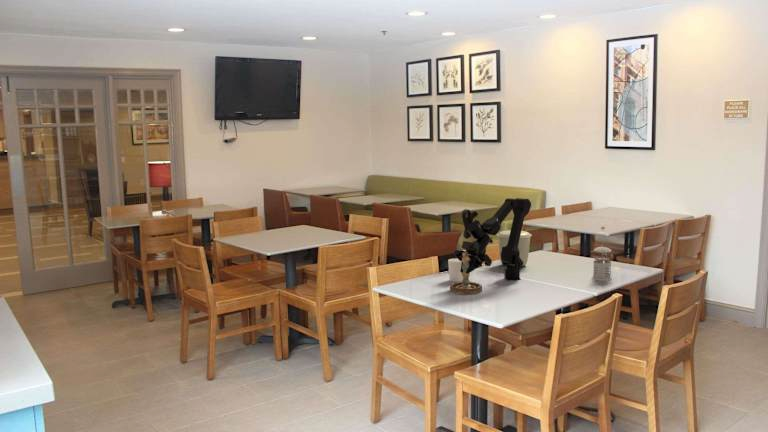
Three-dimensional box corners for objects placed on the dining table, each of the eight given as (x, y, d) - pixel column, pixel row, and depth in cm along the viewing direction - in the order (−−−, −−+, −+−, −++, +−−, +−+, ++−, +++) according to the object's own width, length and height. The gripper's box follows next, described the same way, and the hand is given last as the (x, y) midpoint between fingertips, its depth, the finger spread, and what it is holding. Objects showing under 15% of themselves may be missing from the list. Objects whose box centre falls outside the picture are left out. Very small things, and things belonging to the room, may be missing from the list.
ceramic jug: (466, 260, 368) (466, 206, 364) (491, 263, 358) (491, 208, 354) (449, 265, 355) (448, 209, 351) (474, 269, 345) (474, 211, 341)
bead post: (471, 285, 301) (471, 254, 299) (469, 288, 298) (469, 256, 296) (462, 285, 303) (462, 254, 301) (460, 287, 299) (460, 256, 297)
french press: (589, 279, 316) (590, 227, 312) (593, 274, 326) (594, 224, 323) (610, 281, 311) (612, 228, 308) (615, 276, 321) (616, 225, 318)
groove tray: (478, 286, 308) (478, 281, 307) (485, 293, 293) (485, 288, 293) (447, 287, 307) (447, 282, 307) (452, 294, 293) (452, 289, 293)
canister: (494, 268, 346) (494, 228, 343) (498, 261, 363) (498, 223, 360) (530, 269, 340) (530, 228, 338) (532, 262, 358) (533, 223, 355)
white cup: (464, 282, 316) (464, 261, 314) (447, 282, 317) (447, 261, 316) (465, 278, 323) (465, 258, 322) (449, 278, 325) (449, 258, 324)
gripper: (456, 232, 307) (439, 259, 301) (487, 236, 293) (470, 265, 287) (468, 246, 313) (452, 273, 307) (499, 251, 299) (483, 280, 293)
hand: (463, 272), depth 298 cm, fingers closed on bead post, 3 cm apart
